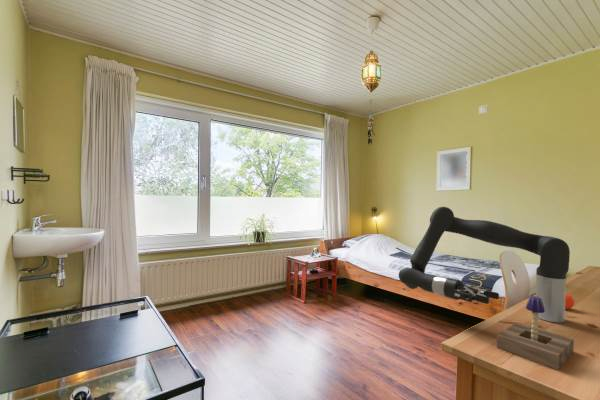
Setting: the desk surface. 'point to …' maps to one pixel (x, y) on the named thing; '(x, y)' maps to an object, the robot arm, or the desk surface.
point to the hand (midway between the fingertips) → (493, 298)
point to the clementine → (568, 301)
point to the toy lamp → (535, 314)
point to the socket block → (536, 345)
